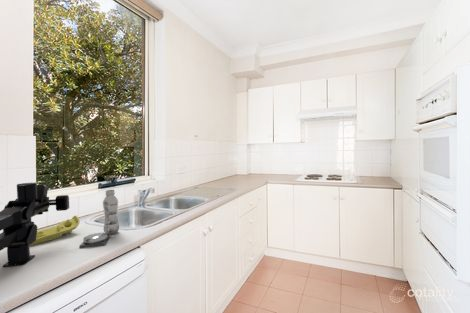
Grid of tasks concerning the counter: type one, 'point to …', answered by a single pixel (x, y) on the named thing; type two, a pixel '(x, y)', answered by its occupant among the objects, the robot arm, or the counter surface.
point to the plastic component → (56, 230)
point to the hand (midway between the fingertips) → (52, 199)
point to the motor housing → (95, 240)
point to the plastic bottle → (110, 213)
